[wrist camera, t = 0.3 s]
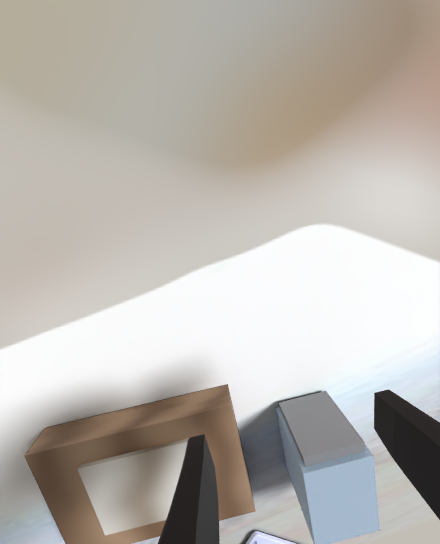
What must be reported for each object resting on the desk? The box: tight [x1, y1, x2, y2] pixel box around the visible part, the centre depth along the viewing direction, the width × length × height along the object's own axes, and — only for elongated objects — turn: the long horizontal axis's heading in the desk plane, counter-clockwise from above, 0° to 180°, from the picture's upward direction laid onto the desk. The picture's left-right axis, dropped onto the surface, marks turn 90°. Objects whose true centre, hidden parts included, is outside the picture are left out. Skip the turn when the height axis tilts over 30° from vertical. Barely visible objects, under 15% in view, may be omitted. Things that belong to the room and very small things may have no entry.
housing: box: [276, 391, 380, 544], centre depth 20 cm, size 8×5×6 cm, turn 12°
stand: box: [24, 384, 255, 544], centre depth 20 cm, size 16×11×3 cm
